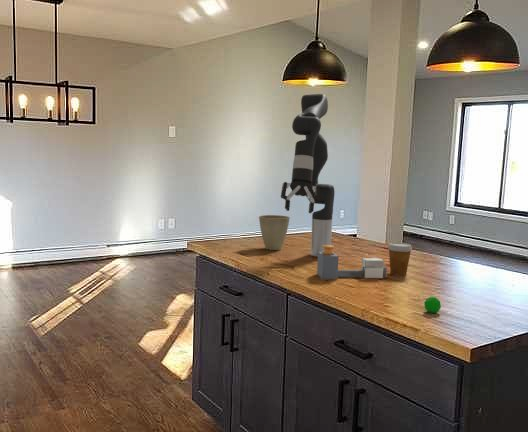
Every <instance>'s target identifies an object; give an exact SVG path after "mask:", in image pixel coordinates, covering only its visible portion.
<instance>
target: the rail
mask: <svg viewBox="0 0 528 432" xmlns="http://www.w3.org/2000/svg"><path fill="white" fill-rule="evenodd" d="M364 275H365V270H362V269H338V278H365V277H364ZM385 278H387V267H386V266H384V265H383V278H382V279H385Z"/></svg>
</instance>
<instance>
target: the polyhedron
mask: <svg viewBox="0 0 528 432" xmlns="http://www.w3.org/2000/svg"><path fill="white" fill-rule="evenodd" d="M423 304H424V309H425V311H426V312H428V313H430V314H436V313H439V311H440V310H441V308H442V307H441V305H442V304H441V301H440V299H439V298H437V297H435V296H430V297H428V298H426V299H425V300H424V303H423Z"/></svg>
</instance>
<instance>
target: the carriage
mask: <svg viewBox="0 0 528 432" xmlns="http://www.w3.org/2000/svg"><path fill="white" fill-rule="evenodd" d="M384 263H385V261H384V260H383V259H381V258H380V257H362V259H361V270H365V275H364V277H363V278H364V279H368V278H369V279H384V278H383V266H384Z"/></svg>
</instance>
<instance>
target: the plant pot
mask: <svg viewBox="0 0 528 432" xmlns="http://www.w3.org/2000/svg"><path fill="white" fill-rule="evenodd" d="M290 219H291V218H290V216H287V215H280V214H279V215H275V214H265V215H264V214H263V215H259V216H258V220H259V227H260V232H261V237H262V241H263V244H264V248H265V249H266V250H268V249H269V251H280V250H282V247H283V245H284V243H285V240H286V236H287V232H288V229H289V223H290Z"/></svg>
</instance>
